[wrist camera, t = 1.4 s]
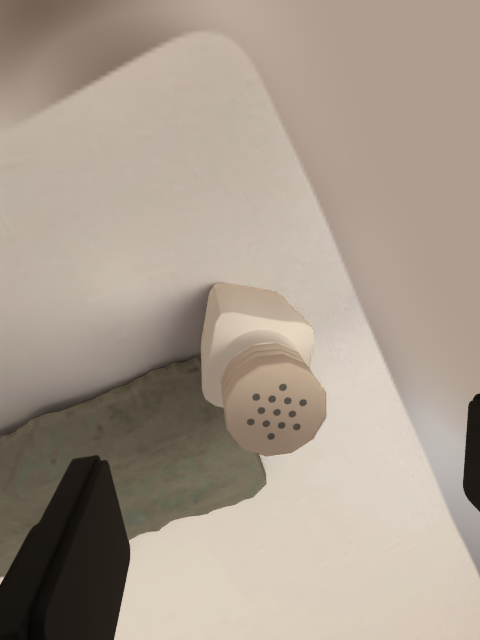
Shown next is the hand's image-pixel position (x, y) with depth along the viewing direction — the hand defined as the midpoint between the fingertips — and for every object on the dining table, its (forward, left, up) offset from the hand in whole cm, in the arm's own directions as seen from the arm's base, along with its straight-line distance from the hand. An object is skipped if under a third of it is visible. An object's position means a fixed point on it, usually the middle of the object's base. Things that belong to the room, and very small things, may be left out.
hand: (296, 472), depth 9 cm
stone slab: (+8, -11, -12) cm, 18 cm away
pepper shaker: (-1, 0, -12) cm, 12 cm away
